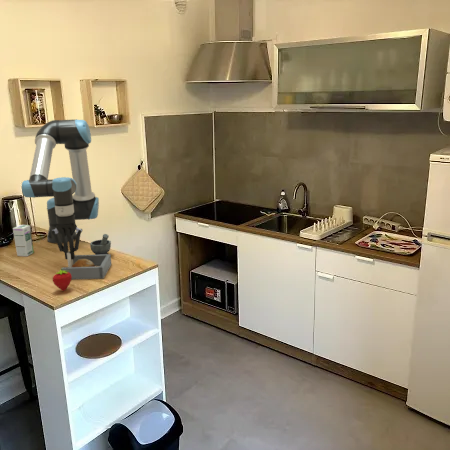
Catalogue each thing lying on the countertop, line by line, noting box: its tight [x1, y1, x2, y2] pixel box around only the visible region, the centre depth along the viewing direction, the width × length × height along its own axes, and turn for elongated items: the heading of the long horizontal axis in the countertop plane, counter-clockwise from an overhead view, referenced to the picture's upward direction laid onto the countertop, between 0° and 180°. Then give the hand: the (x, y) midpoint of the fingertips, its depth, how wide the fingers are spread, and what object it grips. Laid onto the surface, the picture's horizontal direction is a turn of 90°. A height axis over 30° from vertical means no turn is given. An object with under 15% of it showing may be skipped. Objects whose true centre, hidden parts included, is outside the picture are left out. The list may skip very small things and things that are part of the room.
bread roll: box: [72, 259, 96, 267], centre depth 202 cm, size 10×10×8 cm
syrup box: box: [12, 224, 35, 257], centre depth 224 cm, size 6×6×14 cm
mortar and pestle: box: [89, 233, 112, 255], centre depth 220 cm, size 11×9×12 cm
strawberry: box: [52, 269, 72, 292], centre depth 182 cm, size 6×8×10 cm
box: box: [60, 253, 112, 281], centre depth 202 cm, size 17×18×5 cm
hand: (70, 266), depth 202 cm, fingers closed
